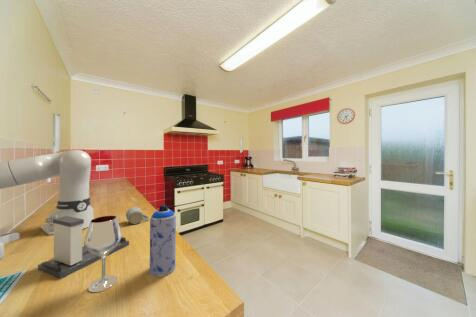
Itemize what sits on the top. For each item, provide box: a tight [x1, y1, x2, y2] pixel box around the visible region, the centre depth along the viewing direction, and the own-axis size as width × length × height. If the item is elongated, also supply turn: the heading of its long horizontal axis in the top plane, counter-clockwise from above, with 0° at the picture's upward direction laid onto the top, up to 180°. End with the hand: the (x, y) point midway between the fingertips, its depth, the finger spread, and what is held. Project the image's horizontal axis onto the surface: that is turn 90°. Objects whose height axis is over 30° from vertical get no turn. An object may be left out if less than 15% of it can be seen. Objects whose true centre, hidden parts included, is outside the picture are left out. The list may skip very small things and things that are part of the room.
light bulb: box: [125, 206, 150, 225], centre depth 94 cm, size 11×8×8 cm
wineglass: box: [83, 215, 123, 293], centre depth 48 cm, size 8×8×18 cm
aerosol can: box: [148, 204, 177, 278], centre depth 54 cm, size 8×8×20 cm
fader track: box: [37, 236, 130, 280], centre depth 61 cm, size 12×21×2 cm, turn 160°
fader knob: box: [53, 216, 84, 266], centre depth 55 cm, size 9×3×13 cm, turn 70°
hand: (16, 234), depth 45 cm, fingers closed
